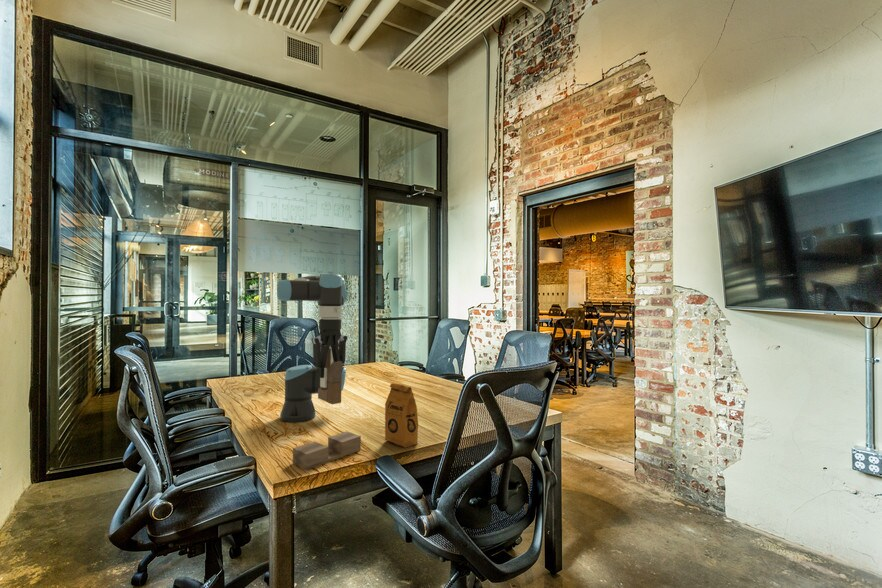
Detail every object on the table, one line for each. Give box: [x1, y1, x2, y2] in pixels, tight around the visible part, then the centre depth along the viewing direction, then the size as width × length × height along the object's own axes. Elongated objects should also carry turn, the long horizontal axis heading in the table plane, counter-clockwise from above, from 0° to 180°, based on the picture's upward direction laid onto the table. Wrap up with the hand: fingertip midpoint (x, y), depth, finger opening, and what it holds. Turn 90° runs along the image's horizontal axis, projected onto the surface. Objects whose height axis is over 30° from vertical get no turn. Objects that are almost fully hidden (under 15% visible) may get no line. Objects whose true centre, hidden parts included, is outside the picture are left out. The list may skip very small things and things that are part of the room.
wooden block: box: [317, 348, 342, 405], centre depth 139 cm, size 4×11×18 cm, turn 42°
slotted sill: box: [292, 431, 362, 471], centre depth 139 cm, size 8×22×5 cm, turn 141°
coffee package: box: [384, 382, 419, 449], centre depth 153 cm, size 10×12×22 cm
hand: (329, 385), depth 139 cm, fingers closed on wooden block, 4 cm apart
